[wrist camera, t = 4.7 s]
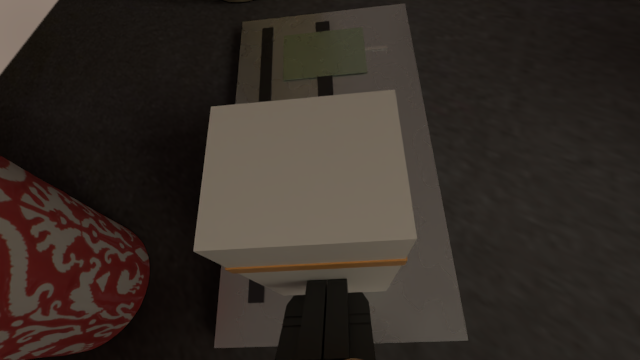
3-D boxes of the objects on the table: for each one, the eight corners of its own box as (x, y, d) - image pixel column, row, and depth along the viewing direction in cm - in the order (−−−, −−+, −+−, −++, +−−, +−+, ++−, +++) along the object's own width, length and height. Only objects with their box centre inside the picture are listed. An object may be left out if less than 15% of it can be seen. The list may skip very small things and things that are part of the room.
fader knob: (378, 211, 18) (396, 87, 9) (387, 292, 16) (419, 241, 7) (283, 217, 19) (209, 105, 9) (282, 296, 17) (190, 254, 8)
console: (402, 20, 26) (406, -10, 24) (459, 339, 17) (474, 340, 15) (248, 37, 27) (238, 10, 25) (225, 346, 18) (205, 348, 16)
